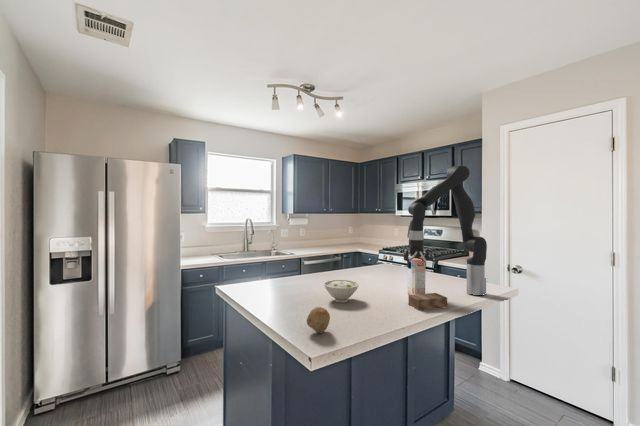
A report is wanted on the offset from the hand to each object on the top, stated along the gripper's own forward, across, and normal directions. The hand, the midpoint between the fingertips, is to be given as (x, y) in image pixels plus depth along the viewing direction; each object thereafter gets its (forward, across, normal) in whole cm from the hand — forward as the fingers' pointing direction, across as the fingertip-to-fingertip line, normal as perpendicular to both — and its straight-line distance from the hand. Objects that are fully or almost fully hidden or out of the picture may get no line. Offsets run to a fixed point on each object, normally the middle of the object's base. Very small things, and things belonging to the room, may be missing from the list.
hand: (416, 268), depth 164 cm
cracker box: (+16, 0, 0) cm, 16 cm away
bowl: (+17, +42, -5) cm, 45 cm away
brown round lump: (+17, +64, +34) cm, 74 cm away
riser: (+16, +3, +15) cm, 22 cm away
